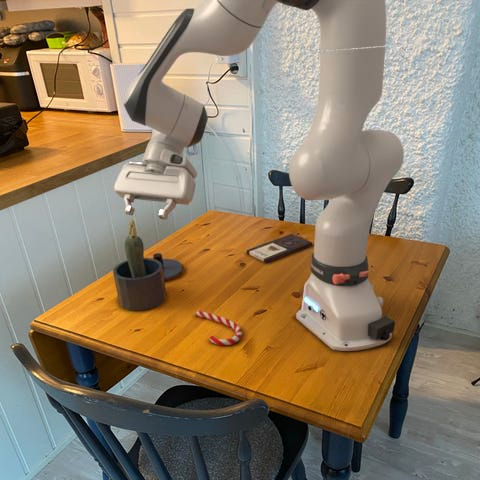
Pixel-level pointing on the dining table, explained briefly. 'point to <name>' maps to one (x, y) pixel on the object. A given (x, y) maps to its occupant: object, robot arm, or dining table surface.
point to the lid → (169, 266)
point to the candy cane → (226, 322)
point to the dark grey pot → (140, 286)
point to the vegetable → (135, 252)
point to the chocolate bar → (279, 248)
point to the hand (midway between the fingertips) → (145, 216)
